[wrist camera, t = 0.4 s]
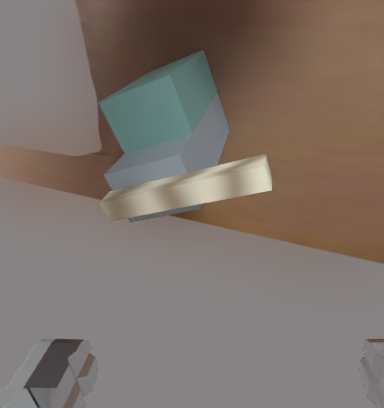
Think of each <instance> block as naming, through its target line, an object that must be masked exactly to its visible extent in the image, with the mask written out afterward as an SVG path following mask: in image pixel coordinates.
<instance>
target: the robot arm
mask: <svg viewBox="0 0 384 408" xmlns="http://www.w3.org/2000/svg"><path fill="white" fill-rule="evenodd" d="M362 349H363V352H364V354H365V357H363V358H362V359H361V360H360V368H359V370H360V377H361V382H362V385H363V388H364V391H365V393H366V396H367V398H368V399H370V400H371V401H372V402H373V403H374V404H375V405H376V408H384V339H365V341H364V342H363V346H362ZM90 350H91V345H90V343H89V341H88V340H79V339H41V340H40V341H38V342H37V343H36V345H35V346H34V347H33V349H32V350H31V352H30V353H29V355H28V356H27V358H26V359H25V361H24V362H23V364H22V365H21V366H20V368H19V369H18V371H17V372H16V374H15V375H14V377H13V379H12V380H11V381H10V383H9V384H8V386H7V387H6V388H0V408H85V407H86V401H85V396H86V395H87V394H88V393H90V392H91V391H92V389H93V387H94V385H95V382H96V379H97V372H98V365H97V360H96V358H95V357H94V356H93V355H92V354H91V353H89V352H90Z"/></svg>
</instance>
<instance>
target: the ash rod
mask: <svg viewBox="0 0 384 408" xmlns="http://www.w3.org/2000/svg"><path fill="white" fill-rule="evenodd" d="M270 190H272V175H271V171H270V168H269V164H268V160H267V157H266V154H264V155H259V156H255V157H251V158H247V159H243V160H239V161H235V162H230V163H226V164H222V165H218V166H214V167H210V168H205V169H201V170H197V171H193V172H189V173H185V174H181V175H176V176H172V177H168V178H164V179H160V180H156V181H151V182H147V183H143V184H139V185H135V186H131V187H127V188H122V189H118V190H114V191H110V192H108V194H107V195H106V196H105V197H104V198H103V199H102V201H101V202H100V203H99V204H100V206H101V208H102V209H103V211H104V213H105V214H106V216H107V217H108V219H109V221H115V220H120V219H125V218H130V217H135V216H141V215H146V214H151V213H156V212H161V211H166V210H172V209H177V208H182V207H187V206H192V205H198V204H203V203H208V202H213V201H218V200H223V199H229V198H234V197H239V196H244V195H249V194H254V193H260V192H265V191H270Z"/></svg>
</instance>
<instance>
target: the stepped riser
mask: <svg viewBox="0 0 384 408" xmlns="http://www.w3.org/2000/svg"><path fill="white" fill-rule="evenodd" d="M98 104H99V106H100V108H101V110H102V111H103V113H104V115H105V117H106V119H107V121H108V123H109V125H110V127H111V129H112V131H113V133H114V135H115V137H116V139H117V140H118V142H119V144H120V146H121V148H122V150H123V152H124V154H123V155H122V156H121V158H120V159H119V160H118V161H117V162H116V163H115V164H114V165H113V166H112V167H111V168H110V169H109V170H108V171H107V172H106V173H105V174H104V177H105V179H106V181H107V182H108V184H109V186H110V188H111V189H112V191H114V190H118V189H122V188H127V187H131V186H135V185H139V184H143V183H147V182H151V181H156V180H160V179H164V178H168V177H172V176H176V175H181V174H185V173H189V172H193V171H197V170H201V169H205V168H210V167H214V166H217V165H218V162H219V159H220V156H221V153H222V151H223V148H224V145H225V142H226V139H227V136H228V134H229V131H230V130H229V126H228V123H227V120H226V117H225V114H224V111H223V108H222V105H221V101H220V98H219V95H218V92H217V89H216V86H215V83H214V80H213V77H212V73H211V70H210V67H209V64H208V61H207V58H206V55H205V52H204V49H203V50H201V51H198V52H196V53H193V54H191V55H188V56H186V57H184V58H181V59H179V60H176V61H174V62H171V63H169V64H166V65H164V66H161V67H159V68H156V69H154V70H151V71H149V72H148V73H146V74H145V75H143V76H141V77H140V78H138V79H136V80H135V81H133V82H131V83H130V84H128V85H126V86H125V87H123V88H121V89H120V90H118V91H117V92H115V93H113V94H112V95H110V96H108V97H107V98H105V99H103V100H102V101H100V102H98ZM203 205H204V203H203V204H198V205H192V206H187V207H182V208H177V209H172V210H166V211H161V212H156V213H151V214H146V215H141V216H135V217H130V218H128V219H129V221H130V222H132V221H138V220H144V219H149V218H155V217H159V216H165V215H171V214H176V213H181V212H187V211H192V210H197V209H202V208H203Z"/></svg>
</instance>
